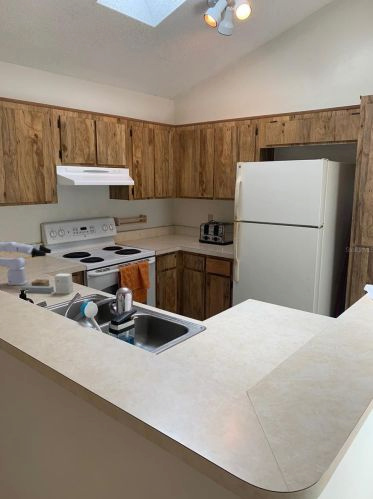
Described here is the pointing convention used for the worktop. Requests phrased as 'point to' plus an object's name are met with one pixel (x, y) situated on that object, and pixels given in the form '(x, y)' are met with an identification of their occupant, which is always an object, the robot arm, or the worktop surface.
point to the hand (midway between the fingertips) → (47, 252)
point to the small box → (63, 283)
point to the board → (38, 289)
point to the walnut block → (40, 282)
